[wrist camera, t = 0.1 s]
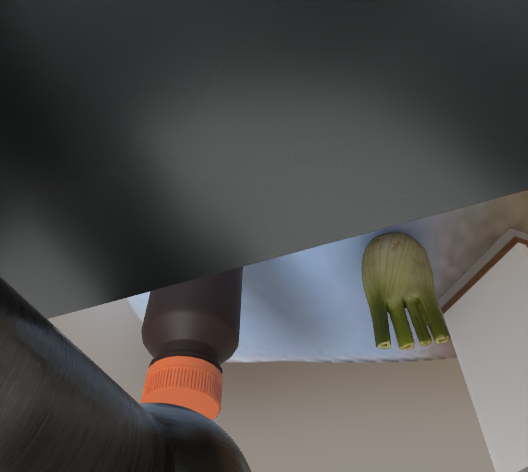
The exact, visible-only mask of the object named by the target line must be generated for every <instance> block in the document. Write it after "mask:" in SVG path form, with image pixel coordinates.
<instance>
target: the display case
mask: <svg viewBox="0 0 528 472" xmlns="http://www.w3.org/2000/svg"><path fill="white" fill-rule="evenodd" d="M438 301H439V304H440V307H441V310H442V313H443V316H444V319H445V322H446V325H447V328H448V331H449V334H450V337H451V340H452V343H453V346H454V349H455V352H456V355H457V358H458V361H459V364H460V366H461V370H462V372H463V375H464V378H465V381H466V384H467V387H468V390H469V393H470V396H471V399H472V402H473V405H474V408H475V411H476V414H477V417H478V420H479V423H480V426H481V429H482V432H483V435H484V438H485V441H486V444H487V447H488V450H489V453H490V456H491V459H492V462H493V465H494V468H495V471H496V472H528V234H526V233H524V232H521V231H518V230H515V229H512V228H509V229H508V230H507V231H506V232H505V233H504V234H503V235H502V236H501V237H500V238H499V239H498V240H497V241H496V242H495V243H494V244H493V245H492V246H491V247H490V248H489V249H488V250H487V251H486V252H485V253H484V254H483V255H482V256H481V257H480V258H479V259H478V260H477V261H476V262H475V263H474V264H473V265H472V266H471V267H470V268H469V269H468V270H467V271H466V272H465V273H464V274H463V275H462V276H461V277H460V278H459V279H458V280H457V281H456V282H455V283H454V284H453V285H452V286H451V287H450V288H449V289H448V290H447V291H446V292H445V293H444V294H443V295H442V296H441V297H440V298H439V300H438Z"/></svg>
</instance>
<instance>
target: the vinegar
mask: <svg viewBox="0 0 528 472" xmlns="http://www.w3.org/2000/svg"><path fill="white" fill-rule="evenodd" d="M242 271H243V266H242V267H238V268H235V269H231V270H227V271H224V272H220V273H216V274H212V275H209V276H205V277H201V278H198V279H194V280H190V281H186V282H183V283H179V284H175V285H171V286H168V287H164V288H160V289H157V290H153V291H151V292H150V296H149V300H148V305H147V309H146V313H145V317H144V322H143V326H142V339H143V344H144V345H145V347H146V348H147V350H148V351H149V353H150V354H151V355H152V356H153V357H154V359H153V360H152V361H151V363H150V365H149V370H148V372H147V375H146V380H145V386H144V390H143V395H142V400H141V403H169V404H175V405H179V406H183V407H186V408H189V409H192V410H194V411H196V412H198V413H200V414H202V415H204V416H206V417H208V418H209V419H211V420H212V419H214V418H215V417H217V415H218V414H219V412H220V409H221V396H222V379H223V376H222V368H221V367H220V364H222V363H223V362H225V361H226V360H227V359H229V358H230V357H231V356H232V355H233V353H234V352H235V350H236V349H237V347H238V343H239V329H240V310H241V291H242Z"/></svg>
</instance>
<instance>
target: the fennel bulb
mask: <svg viewBox="0 0 528 472" xmlns="http://www.w3.org/2000/svg"><path fill="white" fill-rule="evenodd" d="M362 281H363V286H364V291H365V294H366V298H367V301H368V304H369V308H370V312H371V316H372V321H373V328H374V334H375V341H376V347H377V348H382V349H388V348H391V341H390V333H389V324H388V315H387V312H388V313H389V314H390V318H391V321H392V323H393V327H394V330H395V334H396V337H397V341H398V344H399V348H400V349H403V350H409V349H412V348H414V339H413V336H412V332H411V329H410V325H409V322H408V320H407V316H406V313H405V309H404V308H407V309H408V312H409V314H410V317H411V320H412V323H413V326H414V328H415V331H416V333H417V337H418V339H419V342H420V345H421V346H427V345H429V344H431V342H432V339H431V336H430V334H429V331H428V328H427V325H428V327H429V329H430V331H431V333H432V336H433V338H434V341H435V343H436V344H441V343H442V344H444V343H445V342H447V341H449V340H450V334H449V332H448V330H447V328H446V326H445V324H444V321H443V319H442V316H441V313H440V311H439V308H438V305H437V302H436V297H435V290H434V280H433V274H432V269H431V266H430V262H429V259H428V256H427V254H426V251H425V249H424V248H423V246H422V245H421V244H419V243H418V242H417V241H415V240H414V239H413V238H412V237H410V236H409V235H407V234H403V233H400V232H397V233H395V232H394V233H387V234H383V235H380V236H377V237H376V238H374V239H373V240H372V241H371V242H370V243H369V244H368V246H367V247H366V249H365V252H364V255H363V260H362Z"/></svg>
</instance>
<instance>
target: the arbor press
mask: <svg viewBox="0 0 528 472" xmlns="http://www.w3.org/2000/svg"><path fill="white" fill-rule="evenodd" d="M525 190H528V0H0V472H251V470H250V468H249V466H248V463H247V461H246V459H245V457H244V455H243V454H242V452H241V451H240V449H239V448H238V446H237V445H236V443H235V442H234V441H233V439H232V438H231V437H230V436H229V435H228V434H227V433H226V432H225V431H224V430H223V429H222V428H221V427H220V426H218V425H217V424H216V423H215V422H213V421H212V420H211V419H209V418H208V417H206V416H204V415H202V414H200V413H198V412H196V411H194V410H192V409H189V408H186V407H183V406H179V405H175V404H169V403H141V404H139V403H137V402H136V401H135V400H134V399H133V398H132V397H131V396H130V395H129V394H128V393H127V392H125V391H124V390H123V389H122V388H121V387H120V386H119V385H118V384H117V383H115V381H113V380H112V379H111V378H110V377H109V376H108V375H107V374H106V373H105V372H104V371H103V370H102V369H100V368H99V367H98V366H97V365H96V364H95V363H94V362H93V361H92V360H91V359H90V358H88V357H87V356H86V355H85V354H84V353H83V352H82V351H81V350H80V349H79V348H78V347H77V346H75V345H74V344H73V343H72V342H71V341H70V340H69V339H68V338H67V337H65V335H63V334H62V333H61V332H60V331H59V330H58V329H57V328H56V327H55V326H54V325H53V324H51V323H50V322H49V321H48V320H47V319H49V318H52V317H56V316H60V315H64V314H67V313H71V312H74V311H78V310H82V309H86V308H90V307H93V306H97V305H101V304H104V303H108V302H112V301H116V300H119V299H123V298H127V297H131V296H134V295H138V294H142V293H145V292H149V291H153V290H157V289H160V288H164V287H168V286H171V285H175V284H179V283H183V282H186V281H190V280H194V279H198V278H201V277H205V276H209V275H212V274H216V273H220V272H224V271H227V270H231V269H235V268H238V267H242V266H246V265H250V264H253V263H257V262H261V261H264V260H268V259H272V258H276V257H279V256H283V255H287V254H291V253H294V252H298V251H302V250H305V249H309V248H313V247H317V246H320V245H324V244H328V243H331V242H335V241H339V240H343V239H346V238H350V237H354V236H358V235H361V234H365V233H369V232H372V231H376V230H380V229H384V228H387V227H391V226H395V225H398V224H402V223H406V222H410V221H413V220H417V219H421V218H425V217H428V216H432V215H436V214H439V213H443V212H447V211H451V210H454V209H458V208H462V207H465V206H469V205H473V204H477V203H480V202H484V201H488V200H491V199H495V198H499V197H503V196H506V195H510V194H514V193H518V192H521V191H525Z"/></svg>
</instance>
